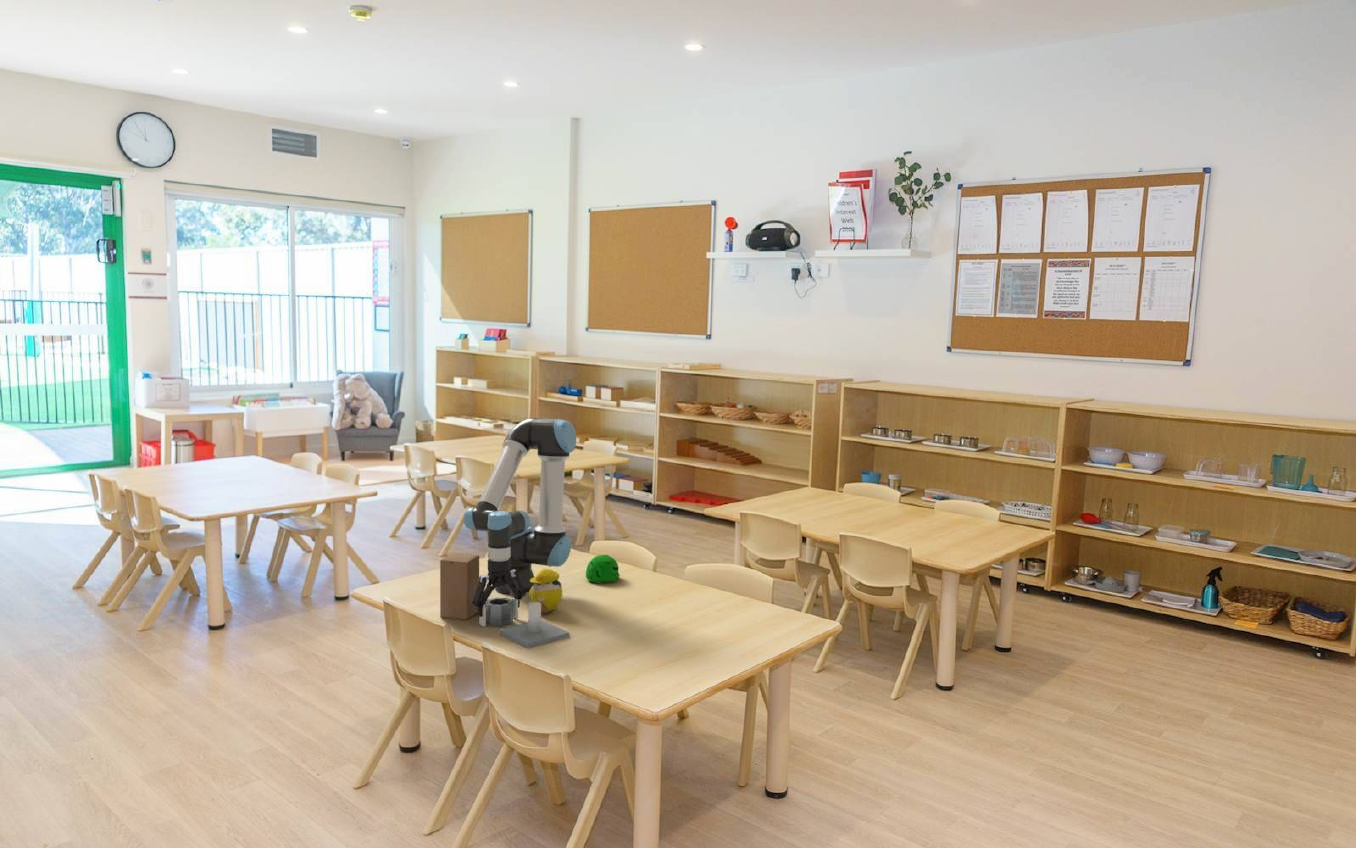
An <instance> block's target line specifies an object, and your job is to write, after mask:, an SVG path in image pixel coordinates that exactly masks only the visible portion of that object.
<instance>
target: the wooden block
mask: <svg viewBox="0 0 1356 848" xmlns="http://www.w3.org/2000/svg"><path fill="white" fill-rule="evenodd" d="M439 565H440V566H439V568H440V569H439V571H440V572H439V573H440V574H439V576H440V577H439V578H440V579H439V582H440V583H439V584H440V585H439V586H440V587H439V588H440V589H439V593H440V595H439V597H440V599H439V601H440V602H439V603H440V604H439V605H440V606H439V608H440V609H439V612H440V613H439V616H440V618H446V619H447V618H448V619H457V620H465V621H466V620H468V619H470V618H472V616H474V615H476V614H477V607H476V606H474V605H472V601H473V598H474V596H475V593H476V590H477V587H478V584H479V577H480V555H479V554H469V553H459V552H452V553H450V554H448V555H447V556H445V557H443V558H441V559H440V562H439Z"/></svg>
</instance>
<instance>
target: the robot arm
mask: <svg viewBox="0 0 1356 848" xmlns="http://www.w3.org/2000/svg"><path fill="white" fill-rule="evenodd" d="M576 445H577V432H576V429H575V427H574V425H573V423H571V421H569V420H566V419H564V420H563V419H560V418H543V417H542V418H541V417H539V418H538V417H529V418H526V419H524V420H522V421H520V422H519V423H517V424H516V425H515V426H514V427H513V428H512V429H511V430H510V431H509V432H508V433H507V435H506V437H505V439H504V441H503V442H502V451H501V453H500V455H499V458H498V460H497V462H496V464H495V467H494V468H493V470H492V472H491V475H490V477H489V479H488V481H487V483H486V485H485V487H484V489H483V491H482V494H481V496H480V498H479V499H478V502H477V504H476V506H475V507H469V508H468V509H466V510H465V512H464V515H463V525H464V526H465V528H467V529H469V530H471V531H472V530H473V531H476V532H477V531H481V532H482V531H483V532H487V558H488V559H487V570H488V571H487V572H488V573H487V575H484V576H483V575H479V584H478V587H477V590H476V593H475V596H474V598H473V601H472V605H474V606H476V607H477V613H476V614H477V616H478V618H479V621H478V622H479V623H478V624H479V625H480V626H482V627H483V628H484V627H486V626H487V624H486V607H485V603H486V601H487V600H488V599H490V598H489V597H490V596H491V595H492V592H493V591H494V590H495V591H496V592H498V593H502V594H506V595H507V594H508V595H512V596H513V597H512V598H511V600H513V619H516V620H517V619H519V609H520V607H521V600H522V598H523V597H525V596H526V593H528V594H529V591H530V589H531V588H532V586H533V585H534V584H535V583H532V582H530V580H531V578H534V577H535V575H534V574H535V573H534V572H533V569H532V565H539V566H547V567H549V568H550V567H551V568H552V567H556V568H559V567H562V566H563V565H564V564H566V562H567V560H568V558H569V556H570V553H571V549H572V541H571V537H570V536H568V535H566V533H567V530H566V528H565V527H564V526H563V511H564V510H563V509H564V490H565V489H564V488H565V470H566V469H565V467H566V465H565V464H566V461H567V459H569V458H570V453H572V452H574V451H575V449H576ZM531 450H536V451H537V457H538V458H539V459H540V460H541V461H540V462H541V465H540V467H541V468H540V485H539V489H540V490H539V507H538V524H537V526H535V527H534V529H532V527H531V526H530V525H531V519H530V516H529V514H528V513H527V512H526V511H524V510H521V509H520V510H515V511H504V510H503V511H502V510H500V507H501V505H502V502H503V501H504V499H505V496H506V494H507V492H508V490H509V488H510V486H511V484H512V481H513V479H514V477H515V475H516V473H517V470H518V468H519V466H520V464H521V462H522V459H523V458H525V457H526V456H527V455H528V453H529V451H531Z"/></svg>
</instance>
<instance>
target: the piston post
mask: <svg viewBox="0 0 1356 848" xmlns="http://www.w3.org/2000/svg"><path fill="white" fill-rule="evenodd" d="M527 613H528V617H527V618H528V622H526V623H521V624H517V625H513V626H509V627H505V628H501V629H499V635H500V636H502V637H504V638H506V639H508V640H510V641H512V642H514V643H517V644H518V645H521V646H522V647H524V648H527V649H530V648H534V647H538V646H541V645H544V644H548V643H552V642H557V641H559V640H564V639H568V638H570V634H571V633H570V632H569V631H567V630H566V629H564V628H560V627H558V626H556V625H554V624H552V623H550V622H548V621H545V620H543V619H542V612H541V603H539V602H531V603H529V602H528V612H527Z"/></svg>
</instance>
